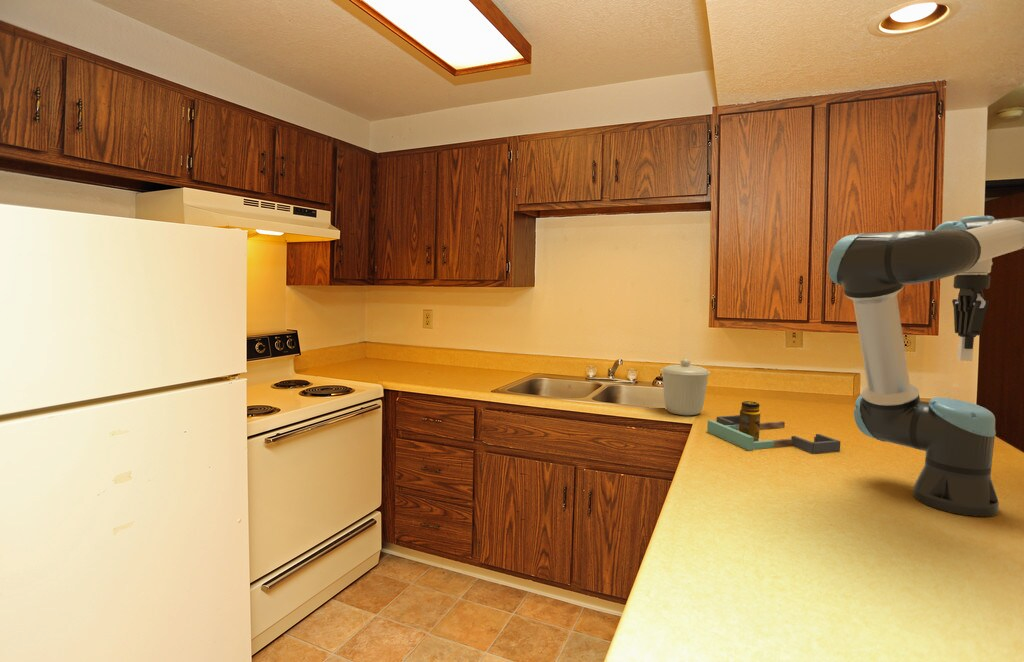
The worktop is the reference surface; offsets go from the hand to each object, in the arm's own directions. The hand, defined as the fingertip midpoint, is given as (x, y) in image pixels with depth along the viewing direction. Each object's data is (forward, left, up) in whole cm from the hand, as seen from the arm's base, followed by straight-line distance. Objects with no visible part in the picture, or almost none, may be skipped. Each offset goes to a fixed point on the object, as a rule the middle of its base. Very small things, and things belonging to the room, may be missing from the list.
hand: (964, 360), depth 147 cm
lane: (+15, +43, -29) cm, 54 cm away
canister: (+40, +71, -30) cm, 87 cm away
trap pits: (+14, +44, -29) cm, 55 cm away
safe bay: (+8, +55, -29) cm, 63 cm away
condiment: (+9, +53, -30) cm, 62 cm away
